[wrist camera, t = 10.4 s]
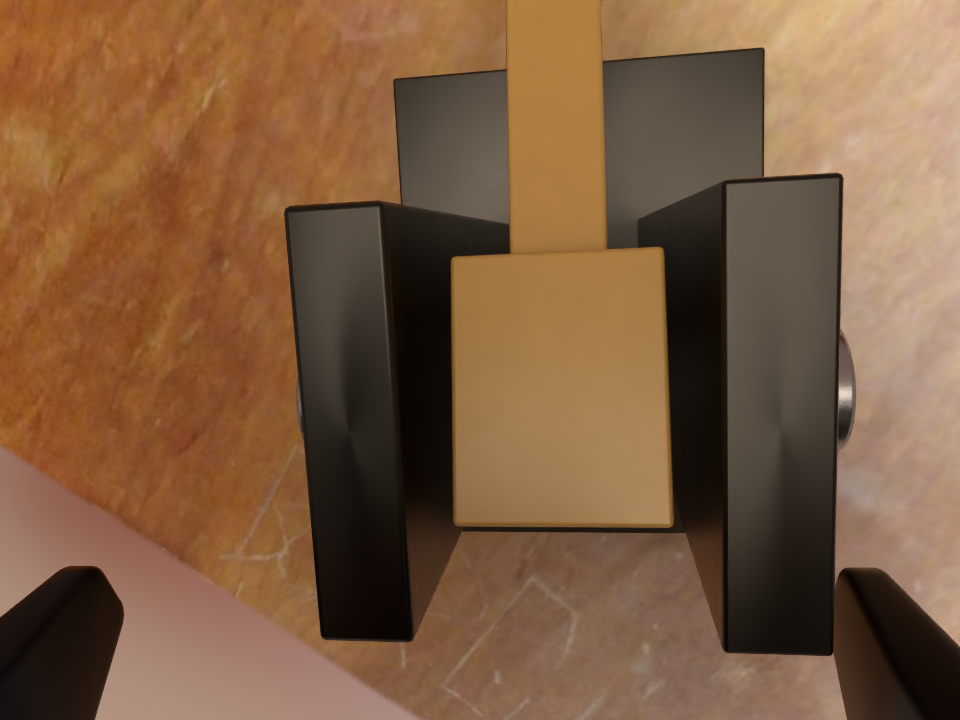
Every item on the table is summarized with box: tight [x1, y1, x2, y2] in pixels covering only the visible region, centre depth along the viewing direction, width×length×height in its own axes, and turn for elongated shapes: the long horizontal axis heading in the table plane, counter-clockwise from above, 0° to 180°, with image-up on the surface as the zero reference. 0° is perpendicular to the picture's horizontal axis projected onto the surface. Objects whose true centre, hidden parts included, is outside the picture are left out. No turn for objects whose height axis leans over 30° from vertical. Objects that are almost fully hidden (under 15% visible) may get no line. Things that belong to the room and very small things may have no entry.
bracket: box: [284, 48, 856, 656], centre depth 14 cm, size 12×9×14 cm
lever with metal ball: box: [451, 0, 674, 528], centre depth 9 cm, size 12×3×3 cm, turn 3°
